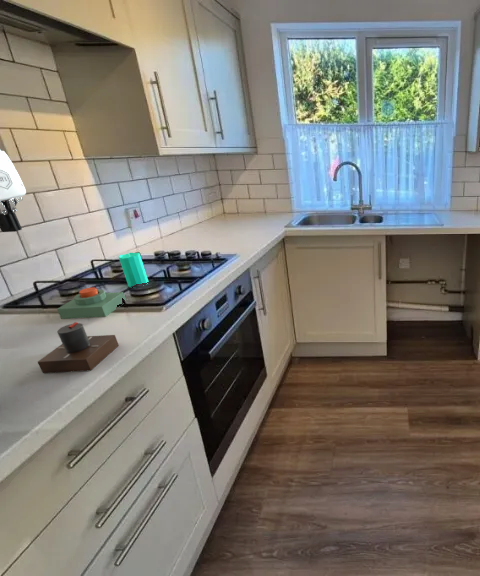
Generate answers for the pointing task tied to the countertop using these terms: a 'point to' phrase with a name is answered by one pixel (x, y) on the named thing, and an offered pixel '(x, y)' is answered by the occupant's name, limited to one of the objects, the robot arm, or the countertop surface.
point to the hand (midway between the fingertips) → (12, 230)
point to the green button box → (91, 305)
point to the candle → (133, 268)
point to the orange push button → (88, 292)
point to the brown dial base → (79, 356)
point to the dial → (73, 337)
